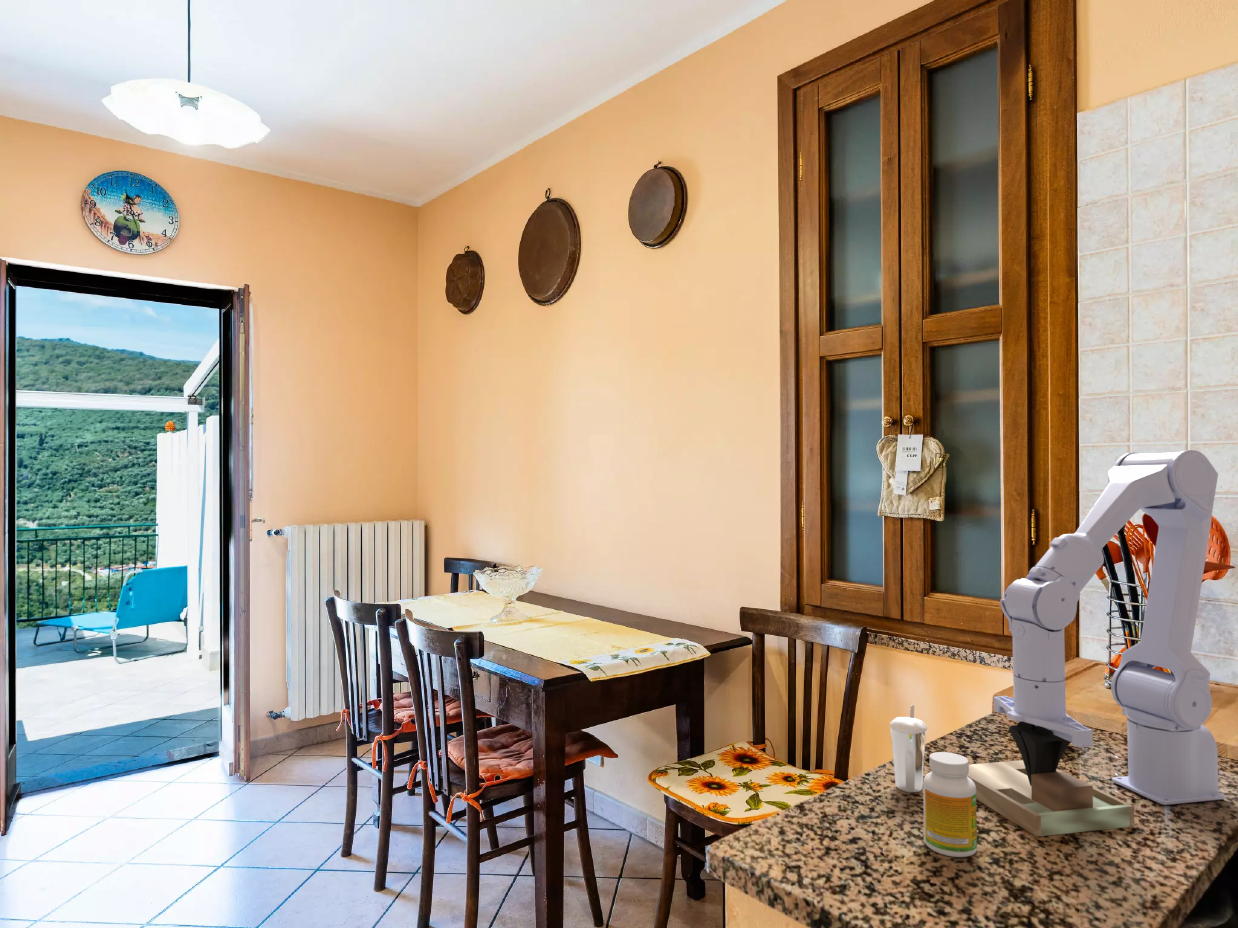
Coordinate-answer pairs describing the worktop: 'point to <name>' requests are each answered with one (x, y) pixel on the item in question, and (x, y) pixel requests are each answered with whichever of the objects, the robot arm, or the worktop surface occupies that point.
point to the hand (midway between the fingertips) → (1040, 786)
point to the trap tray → (1013, 799)
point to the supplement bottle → (950, 806)
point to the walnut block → (1061, 791)
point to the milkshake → (908, 751)
